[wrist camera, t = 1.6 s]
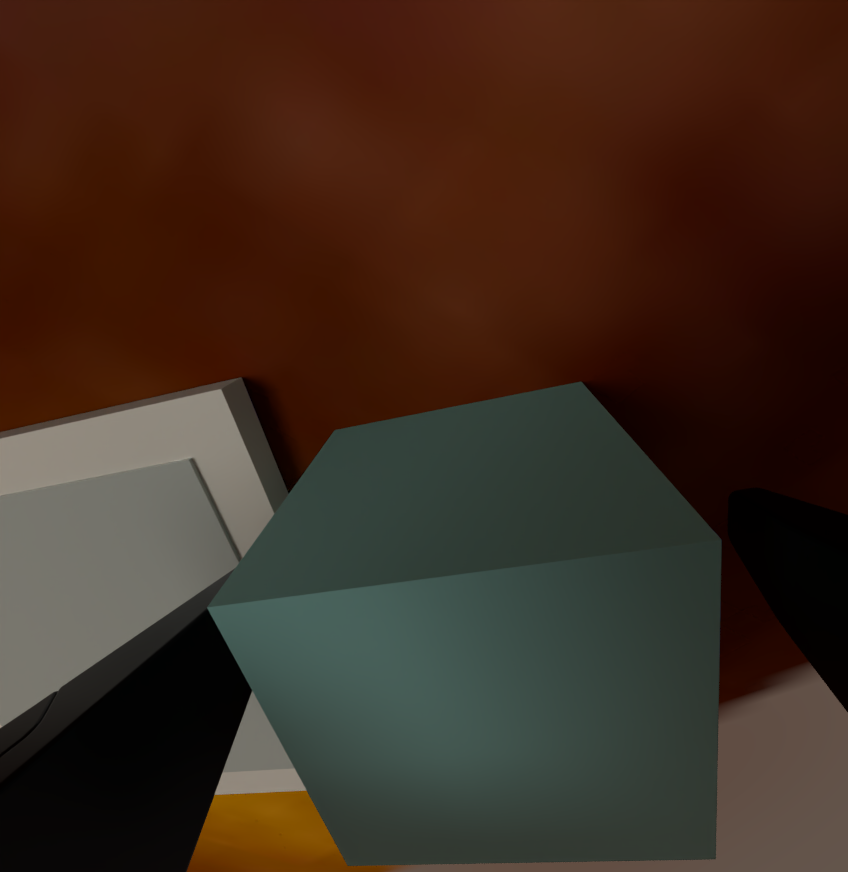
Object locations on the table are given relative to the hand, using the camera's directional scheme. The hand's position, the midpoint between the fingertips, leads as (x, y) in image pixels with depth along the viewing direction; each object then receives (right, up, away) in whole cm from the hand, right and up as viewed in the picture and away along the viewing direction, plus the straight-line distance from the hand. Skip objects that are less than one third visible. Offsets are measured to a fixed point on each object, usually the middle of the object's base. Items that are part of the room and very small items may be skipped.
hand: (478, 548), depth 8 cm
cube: (0, +1, +1) cm, 1 cm away
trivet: (-9, -3, +4) cm, 10 cm away
